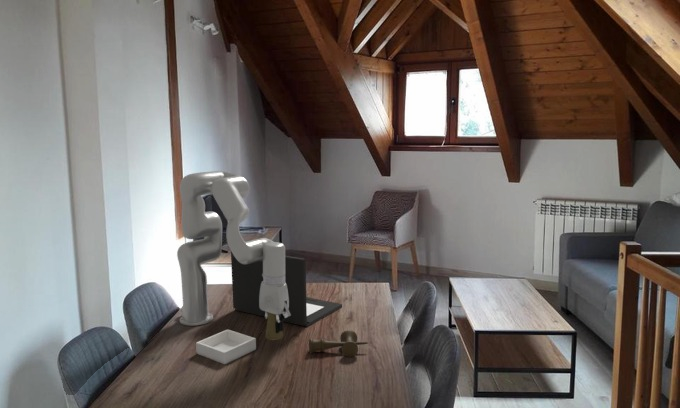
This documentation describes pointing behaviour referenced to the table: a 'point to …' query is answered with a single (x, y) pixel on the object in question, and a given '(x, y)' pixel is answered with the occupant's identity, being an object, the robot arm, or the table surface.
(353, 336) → the kendama
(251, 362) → the table surface
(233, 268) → the laptop
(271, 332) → the cork
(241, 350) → the box
